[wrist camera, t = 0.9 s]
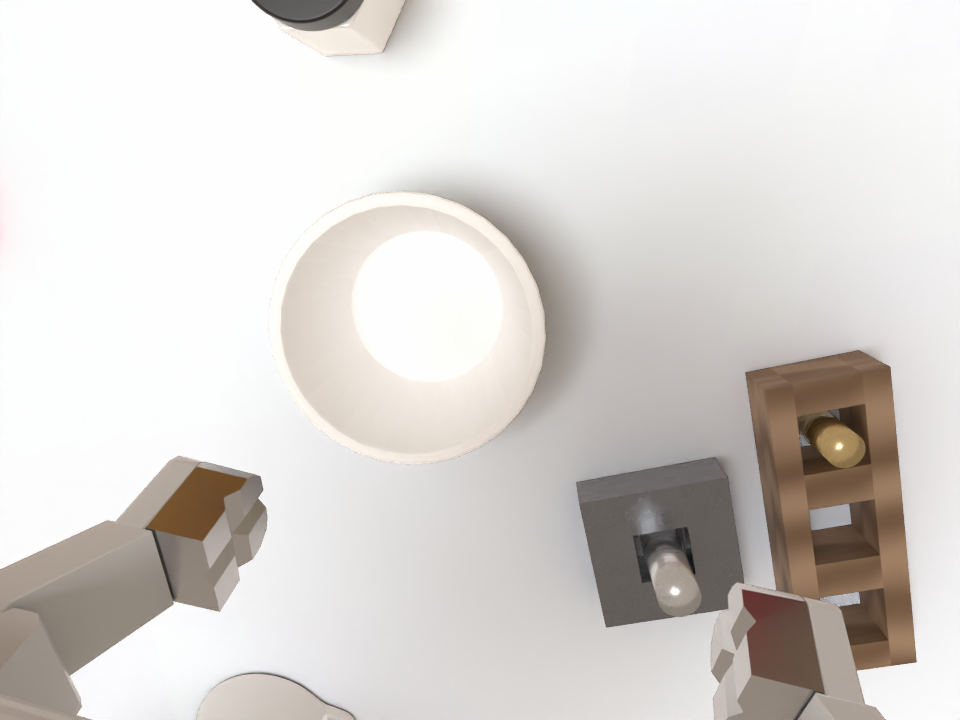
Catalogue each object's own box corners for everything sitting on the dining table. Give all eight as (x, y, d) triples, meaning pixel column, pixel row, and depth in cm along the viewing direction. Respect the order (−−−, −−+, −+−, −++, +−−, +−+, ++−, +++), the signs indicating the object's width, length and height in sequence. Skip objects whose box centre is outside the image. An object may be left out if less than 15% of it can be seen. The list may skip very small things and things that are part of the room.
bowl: (427, 135, 53) (401, 126, 43) (591, 311, 56) (605, 342, 46) (268, 302, 58) (211, 329, 47) (428, 457, 60) (407, 516, 50)
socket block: (734, 578, 61) (747, 605, 57) (601, 599, 63) (606, 627, 59) (714, 457, 58) (727, 477, 54) (576, 482, 60) (579, 503, 56)
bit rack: (886, 624, 61) (916, 662, 56) (783, 639, 62) (804, 677, 58) (858, 350, 55) (890, 366, 50) (745, 372, 56) (765, 390, 51)
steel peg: (676, 543, 61) (704, 613, 51) (641, 549, 61) (661, 619, 51) (671, 511, 60) (697, 576, 50) (634, 518, 60) (654, 583, 51)
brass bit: (827, 430, 57) (867, 464, 50) (792, 436, 57) (828, 471, 51) (823, 399, 56) (863, 429, 50) (789, 405, 57) (823, 436, 50)
